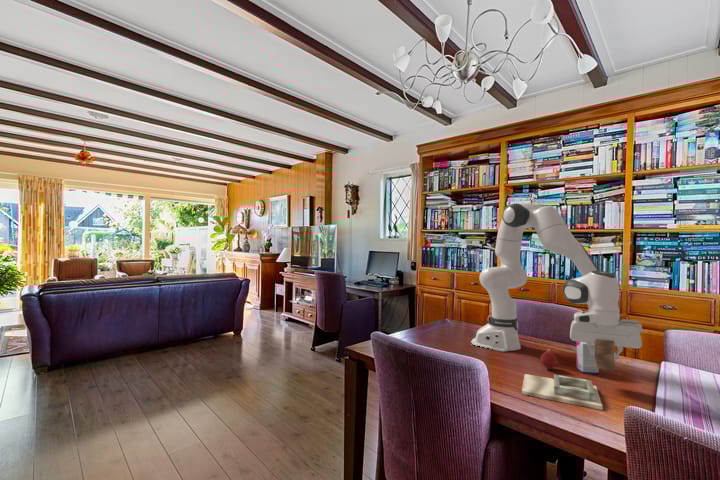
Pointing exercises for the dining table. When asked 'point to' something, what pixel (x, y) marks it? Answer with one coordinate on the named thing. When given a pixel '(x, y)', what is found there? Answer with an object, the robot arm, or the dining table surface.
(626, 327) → the robot arm
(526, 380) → the socket stand
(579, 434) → the dining table surface
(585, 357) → the supplement box
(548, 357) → the onion
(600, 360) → the walnut peg
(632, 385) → the dining table surface
